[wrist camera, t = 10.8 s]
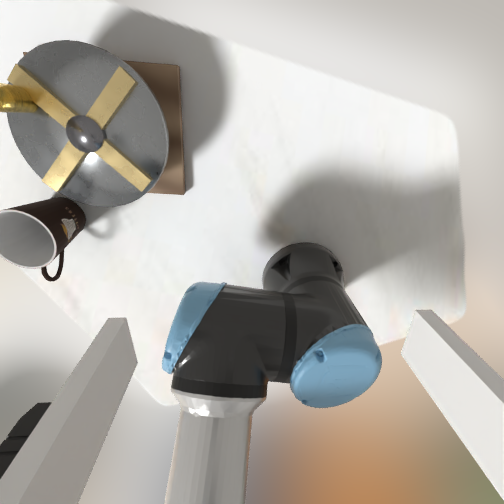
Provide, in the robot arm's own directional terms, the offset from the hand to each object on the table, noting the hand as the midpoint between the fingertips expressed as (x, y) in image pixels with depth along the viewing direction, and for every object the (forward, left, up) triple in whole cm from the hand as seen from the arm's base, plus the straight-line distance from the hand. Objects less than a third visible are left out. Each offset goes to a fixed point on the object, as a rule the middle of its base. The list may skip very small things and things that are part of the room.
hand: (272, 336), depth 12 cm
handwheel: (+6, +20, -28) cm, 35 cm away
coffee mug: (-9, +31, -35) cm, 47 cm away
